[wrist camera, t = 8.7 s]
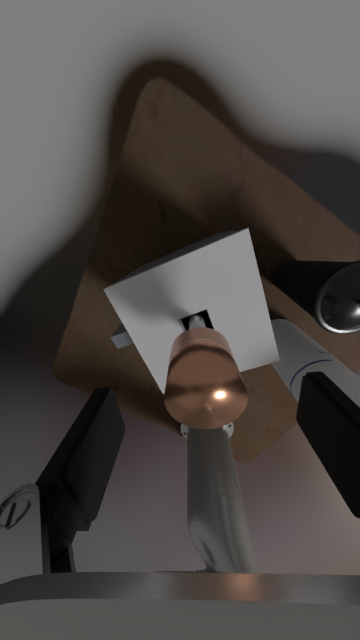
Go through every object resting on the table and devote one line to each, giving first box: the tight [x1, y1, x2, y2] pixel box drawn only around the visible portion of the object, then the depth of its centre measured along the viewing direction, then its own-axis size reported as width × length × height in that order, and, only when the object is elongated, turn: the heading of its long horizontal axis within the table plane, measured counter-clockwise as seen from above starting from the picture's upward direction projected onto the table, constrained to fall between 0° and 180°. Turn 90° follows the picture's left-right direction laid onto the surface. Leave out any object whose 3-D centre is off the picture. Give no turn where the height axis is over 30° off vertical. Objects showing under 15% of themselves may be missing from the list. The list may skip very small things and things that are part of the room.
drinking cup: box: [273, 260, 360, 334], centre depth 22 cm, size 8×8×20 cm
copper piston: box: [164, 309, 248, 429], centre depth 20 cm, size 9×9×23 cm
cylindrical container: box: [271, 319, 360, 407], centre depth 24 cm, size 7×7×25 cm
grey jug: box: [103, 228, 280, 394], centre depth 25 cm, size 16×12×17 cm
